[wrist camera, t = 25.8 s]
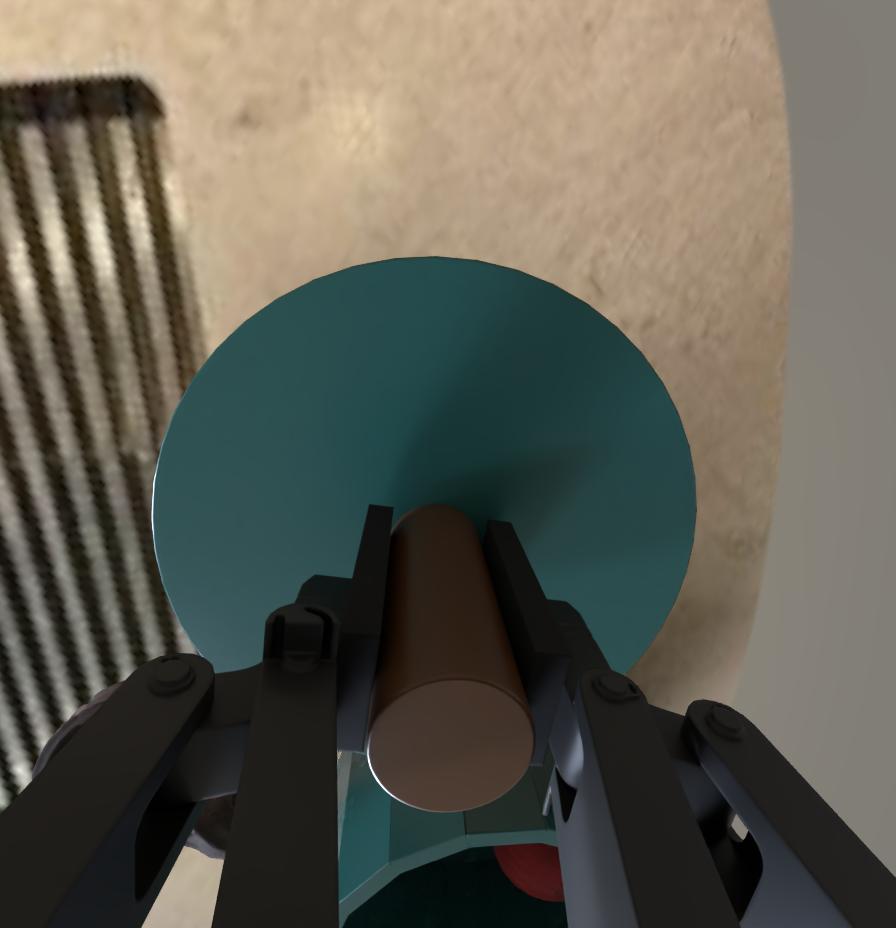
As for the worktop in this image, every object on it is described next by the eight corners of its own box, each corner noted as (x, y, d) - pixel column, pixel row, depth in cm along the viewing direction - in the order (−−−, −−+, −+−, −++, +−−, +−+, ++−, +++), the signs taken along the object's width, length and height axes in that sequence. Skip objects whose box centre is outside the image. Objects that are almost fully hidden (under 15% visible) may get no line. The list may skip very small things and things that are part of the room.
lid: (776, 397, 17) (1161, 485, 8) (544, 783, 21) (637, 1114, 12) (262, 151, 14) (10, -122, 5) (111, 659, 18) (-170, 979, 9)
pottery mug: (86, 779, 31) (-35, 845, 23) (168, 631, 33) (83, 645, 25) (259, 869, 30) (195, 970, 22) (331, 711, 32) (297, 751, 24)
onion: (479, 834, 33) (595, 935, 28) (449, 842, 28) (583, 963, 24) (522, 747, 34) (638, 830, 30) (501, 741, 30) (635, 838, 25)
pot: (662, 670, 31) (781, 836, 21) (512, 910, 37) (551, 1135, 27) (415, 585, 28) (420, 733, 18) (290, 860, 34) (240, 1092, 24)
